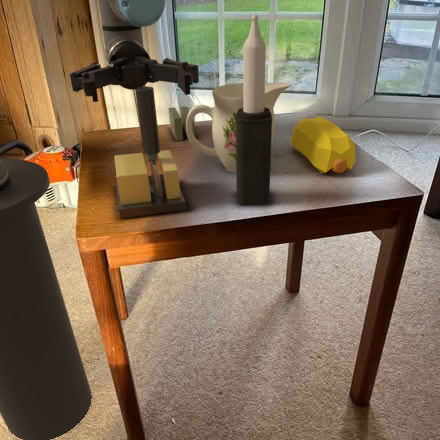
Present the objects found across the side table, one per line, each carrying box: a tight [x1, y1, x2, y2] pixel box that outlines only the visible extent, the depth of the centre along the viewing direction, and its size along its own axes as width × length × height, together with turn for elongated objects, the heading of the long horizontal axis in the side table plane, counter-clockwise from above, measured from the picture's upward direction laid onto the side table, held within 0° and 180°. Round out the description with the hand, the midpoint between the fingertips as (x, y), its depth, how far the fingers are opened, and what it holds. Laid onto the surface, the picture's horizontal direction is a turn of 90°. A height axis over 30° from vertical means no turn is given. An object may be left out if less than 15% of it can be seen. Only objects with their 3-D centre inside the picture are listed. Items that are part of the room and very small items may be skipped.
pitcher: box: [186, 82, 292, 174], centre depth 79 cm, size 11×18×14 cm, turn 93°
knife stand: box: [168, 106, 196, 141], centre depth 99 cm, size 9×4×4 cm, turn 13°
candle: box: [235, 14, 272, 206], centre depth 64 cm, size 5×5×25 cm
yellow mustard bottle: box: [290, 116, 356, 174], centre depth 82 cm, size 18×7×8 cm
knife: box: [134, 85, 161, 196], centre depth 68 cm, size 6×3×15 cm, turn 13°
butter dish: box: [114, 149, 187, 220], centre depth 71 cm, size 12×10×6 cm
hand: (141, 88), depth 66 cm, fingers open, 13 cm apart
